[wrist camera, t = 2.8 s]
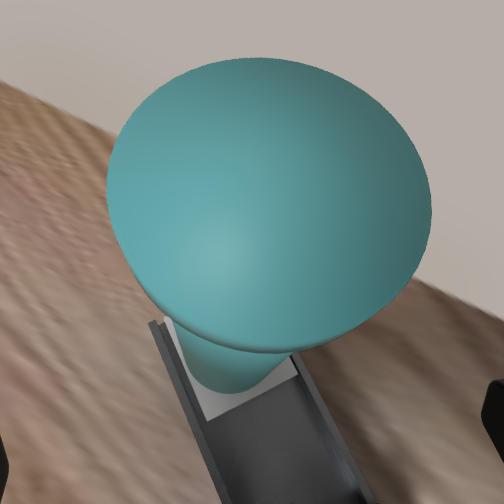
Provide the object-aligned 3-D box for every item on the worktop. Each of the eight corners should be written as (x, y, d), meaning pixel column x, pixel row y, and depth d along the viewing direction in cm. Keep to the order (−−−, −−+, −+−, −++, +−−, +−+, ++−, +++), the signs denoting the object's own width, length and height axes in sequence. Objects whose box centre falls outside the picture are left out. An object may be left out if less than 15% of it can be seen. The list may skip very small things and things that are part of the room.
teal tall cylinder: (294, 376, 17) (495, 253, 5) (202, 424, 16) (187, 411, 4) (250, 289, 18) (330, 29, 6) (162, 329, 17) (62, 105, 5)
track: (398, 573, 16) (435, 601, 13) (285, 653, 14) (302, 701, 12) (253, 289, 19) (260, 267, 17) (153, 333, 18) (145, 318, 16)
